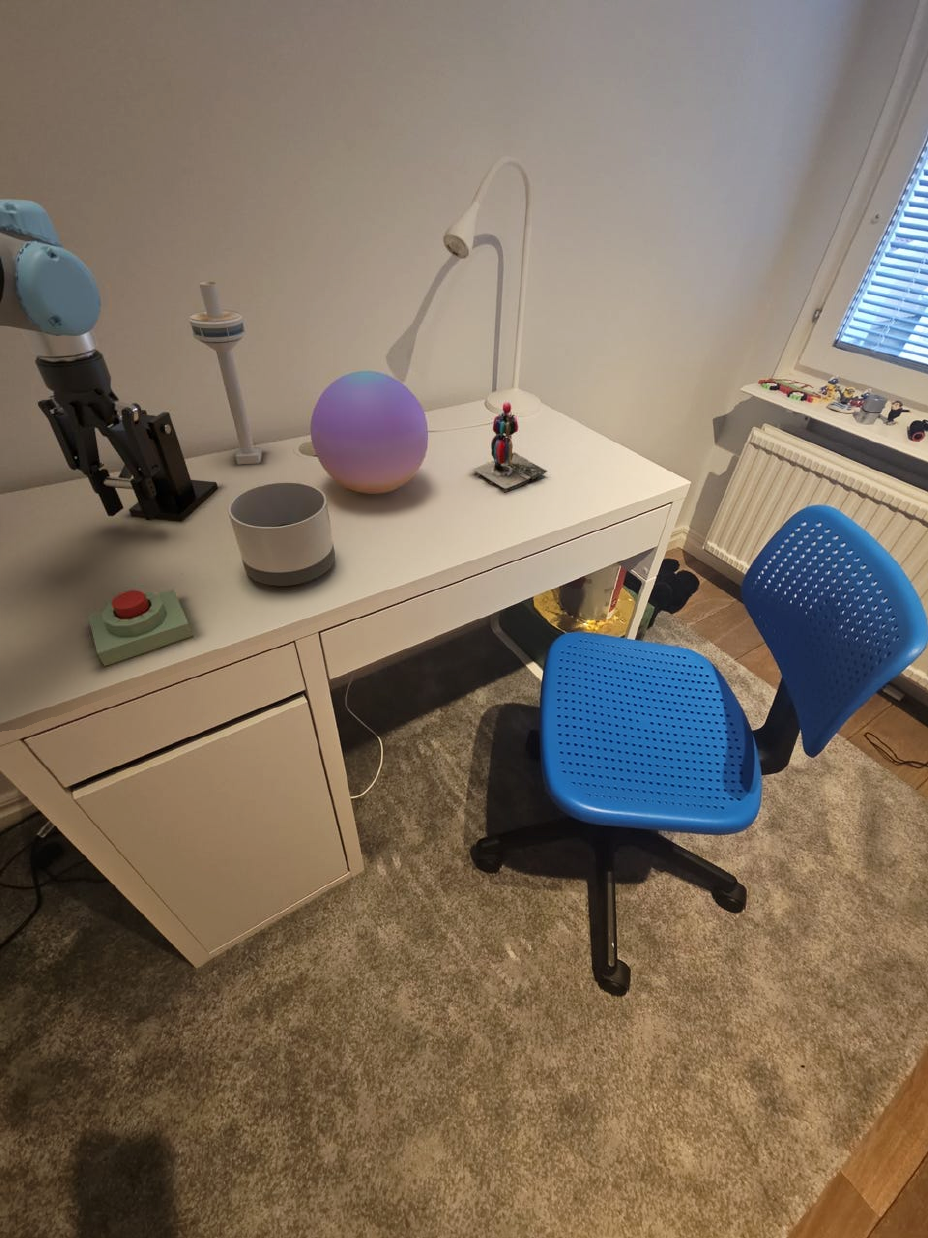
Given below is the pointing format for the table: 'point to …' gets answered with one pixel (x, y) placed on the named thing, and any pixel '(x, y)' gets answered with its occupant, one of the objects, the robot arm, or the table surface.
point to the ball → (369, 432)
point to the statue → (507, 456)
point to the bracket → (172, 475)
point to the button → (130, 604)
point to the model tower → (226, 361)
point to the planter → (283, 532)
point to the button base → (139, 628)
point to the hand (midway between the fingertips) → (134, 513)
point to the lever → (125, 474)
